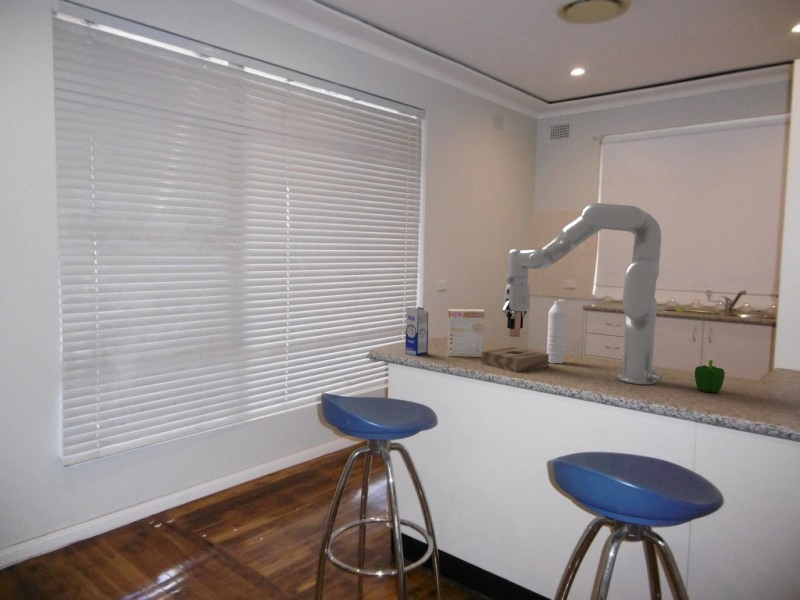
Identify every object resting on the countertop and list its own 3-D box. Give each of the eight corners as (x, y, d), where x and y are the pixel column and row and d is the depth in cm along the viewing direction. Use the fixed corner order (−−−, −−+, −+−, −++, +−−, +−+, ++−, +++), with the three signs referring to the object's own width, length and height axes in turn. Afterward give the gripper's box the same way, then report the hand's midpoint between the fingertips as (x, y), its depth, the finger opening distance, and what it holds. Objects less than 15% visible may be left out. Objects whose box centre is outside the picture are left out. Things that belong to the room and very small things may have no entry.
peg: (521, 336, 209) (523, 305, 208) (514, 337, 207) (516, 306, 206) (514, 335, 213) (515, 304, 211) (507, 335, 210) (508, 305, 209)
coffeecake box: (482, 354, 232) (484, 309, 230) (483, 357, 225) (484, 311, 223) (447, 353, 233) (448, 308, 232) (447, 356, 226) (448, 309, 224)
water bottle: (558, 364, 214) (561, 301, 211) (543, 362, 218) (546, 300, 216) (568, 361, 220) (571, 300, 218) (553, 359, 224) (556, 299, 222)
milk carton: (404, 353, 231) (405, 306, 229) (416, 351, 235) (417, 305, 233) (416, 356, 225) (417, 308, 224) (427, 354, 230) (429, 307, 228)
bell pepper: (716, 396, 170) (718, 364, 169) (689, 390, 177) (691, 360, 176) (728, 392, 175) (730, 361, 174) (701, 386, 182) (703, 357, 181)
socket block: (548, 367, 208) (548, 354, 208) (516, 372, 198) (516, 358, 198) (513, 358, 223) (513, 347, 223) (481, 363, 213) (481, 350, 212)
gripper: (509, 282, 200) (507, 331, 202) (539, 281, 209) (536, 328, 211) (494, 280, 206) (492, 328, 208) (524, 280, 216) (522, 325, 217)
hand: (514, 327), depth 209 cm, fingers closed on peg, 4 cm apart
